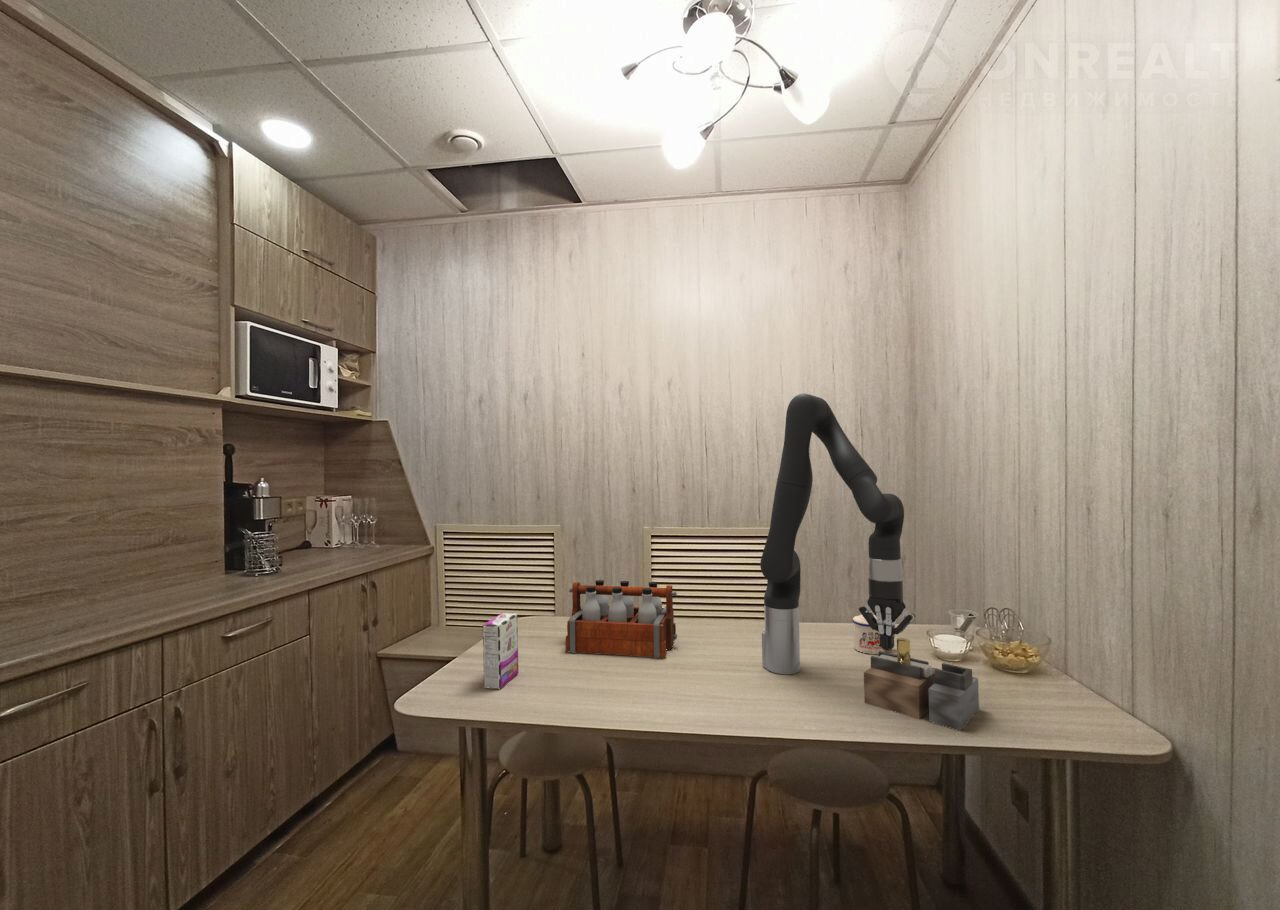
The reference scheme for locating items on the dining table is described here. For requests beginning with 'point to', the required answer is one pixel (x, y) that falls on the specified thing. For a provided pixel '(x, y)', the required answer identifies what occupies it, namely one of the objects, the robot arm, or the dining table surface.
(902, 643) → the gold and grey piece
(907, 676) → the pair of card holders
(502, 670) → the candy bar box
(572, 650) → the milk bottle holder
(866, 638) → the teacup with lid
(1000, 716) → the dining table surface
